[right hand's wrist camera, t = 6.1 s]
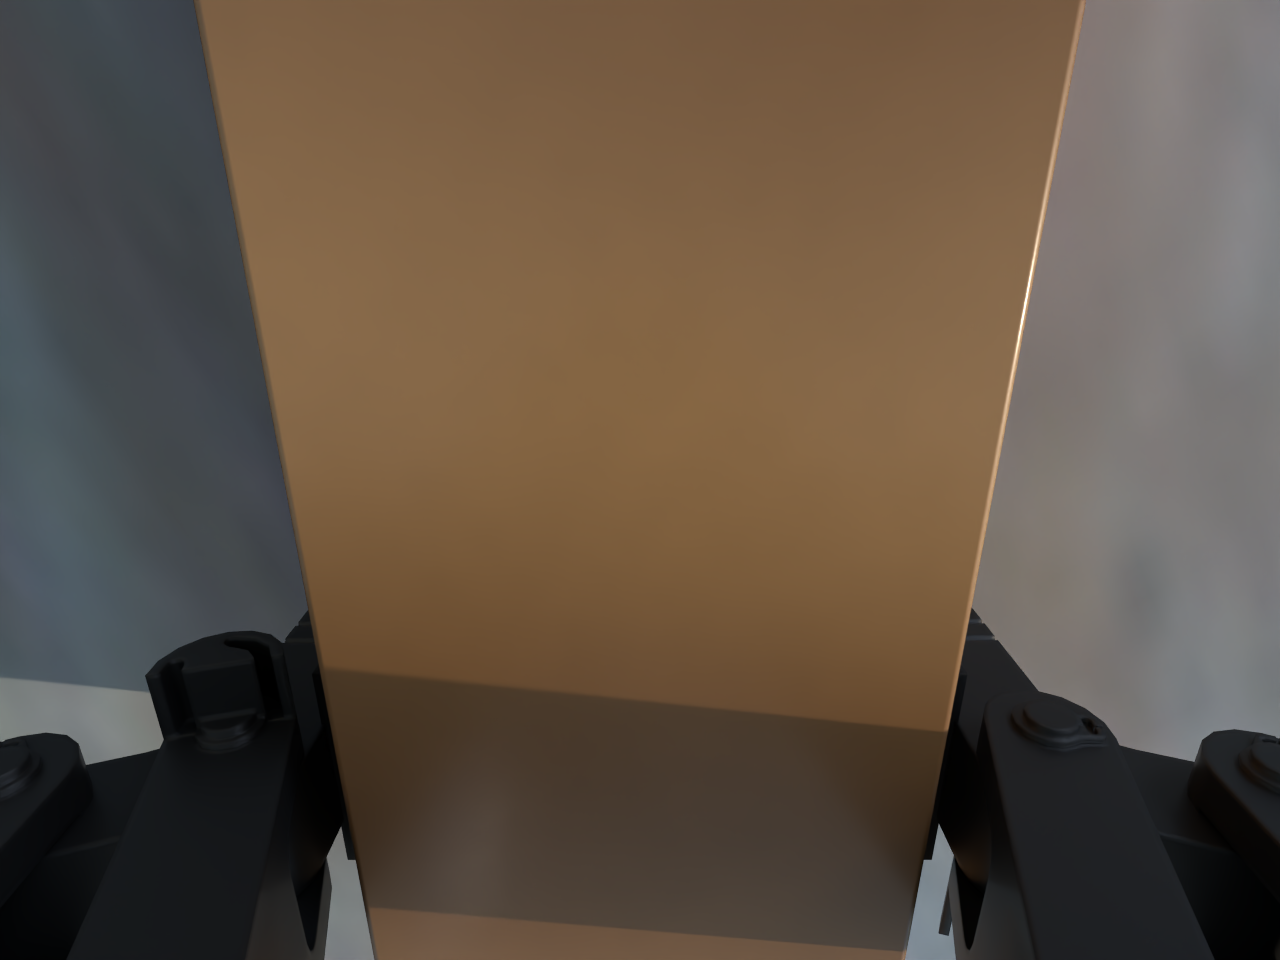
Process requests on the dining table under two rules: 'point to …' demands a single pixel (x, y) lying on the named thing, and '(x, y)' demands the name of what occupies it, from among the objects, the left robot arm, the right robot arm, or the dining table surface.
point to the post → (639, 439)
